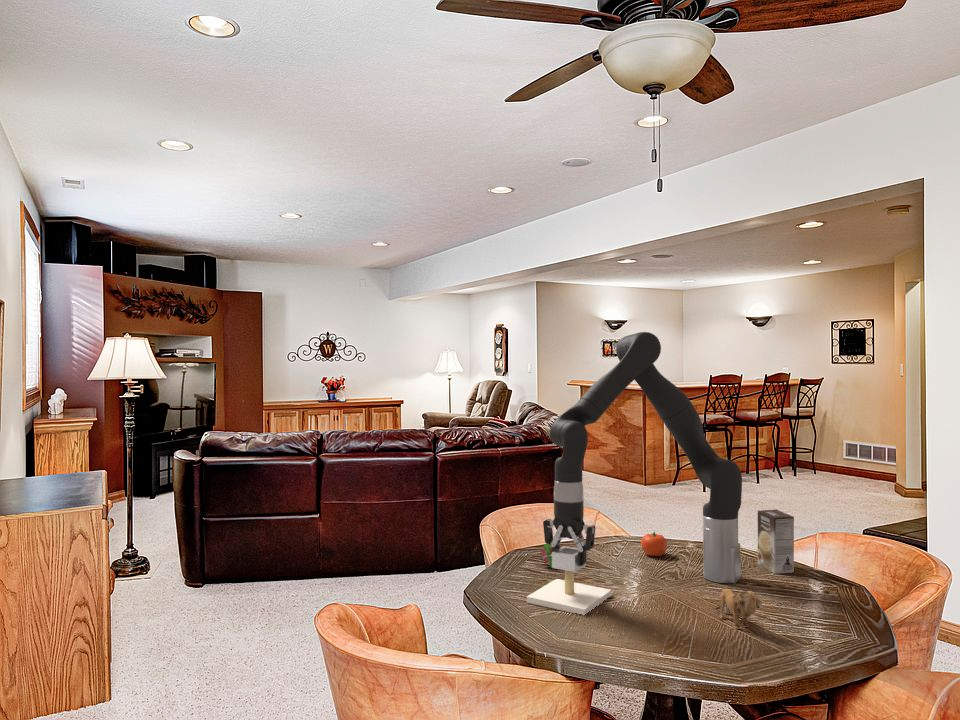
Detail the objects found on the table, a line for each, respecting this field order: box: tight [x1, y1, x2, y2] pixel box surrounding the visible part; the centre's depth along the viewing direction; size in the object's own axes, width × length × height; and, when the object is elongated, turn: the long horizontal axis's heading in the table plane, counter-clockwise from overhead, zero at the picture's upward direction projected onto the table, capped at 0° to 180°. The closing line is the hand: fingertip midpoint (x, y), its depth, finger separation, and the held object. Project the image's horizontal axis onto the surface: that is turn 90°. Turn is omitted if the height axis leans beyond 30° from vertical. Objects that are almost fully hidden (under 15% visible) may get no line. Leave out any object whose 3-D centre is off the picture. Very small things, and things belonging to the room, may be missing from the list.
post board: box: [526, 570, 612, 616], centre depth 174 cm, size 16×16×8 cm
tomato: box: [640, 531, 668, 557], centre depth 210 cm, size 8×8×7 cm
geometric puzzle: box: [538, 543, 552, 568], centre depth 201 cm, size 7×7×8 cm
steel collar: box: [551, 545, 587, 573], centre depth 173 cm, size 6×6×4 cm
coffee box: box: [757, 509, 795, 574], centre depth 196 cm, size 9×6×16 cm
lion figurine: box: [714, 588, 763, 630], centre depth 158 cm, size 15×5×9 cm, turn 17°
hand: (569, 563), depth 174 cm, fingers closed on steel collar, 6 cm apart
